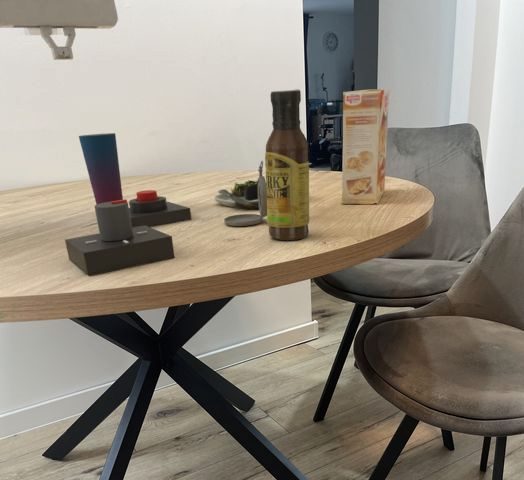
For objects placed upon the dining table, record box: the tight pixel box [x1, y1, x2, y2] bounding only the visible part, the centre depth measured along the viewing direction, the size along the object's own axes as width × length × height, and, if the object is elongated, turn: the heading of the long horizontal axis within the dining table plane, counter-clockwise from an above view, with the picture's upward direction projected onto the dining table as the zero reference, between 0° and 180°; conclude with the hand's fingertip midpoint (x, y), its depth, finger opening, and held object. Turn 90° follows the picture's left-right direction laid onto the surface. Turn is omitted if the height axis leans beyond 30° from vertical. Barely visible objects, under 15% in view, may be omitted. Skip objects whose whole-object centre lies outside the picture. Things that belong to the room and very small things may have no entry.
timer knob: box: [93, 198, 133, 241], centre depth 69 cm, size 4×4×5 cm
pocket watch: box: [223, 160, 267, 227], centre depth 86 cm, size 8×8×10 cm
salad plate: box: [214, 179, 259, 211], centre depth 106 cm, size 19×18×5 cm
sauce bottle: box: [264, 88, 310, 241], centre depth 73 cm, size 6×6×20 cm
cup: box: [78, 132, 124, 205], centre depth 101 cm, size 7×7×15 cm
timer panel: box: [64, 225, 175, 277], centre depth 71 cm, size 12×10×3 cm
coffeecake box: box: [341, 88, 390, 205], centre depth 99 cm, size 15×7×20 cm, turn 162°
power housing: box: [128, 195, 192, 228], centre depth 94 cm, size 12×10×4 cm
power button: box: [136, 189, 158, 202], centre depth 93 cm, size 4×4×2 cm
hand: (63, 59), depth 86 cm, fingers closed
